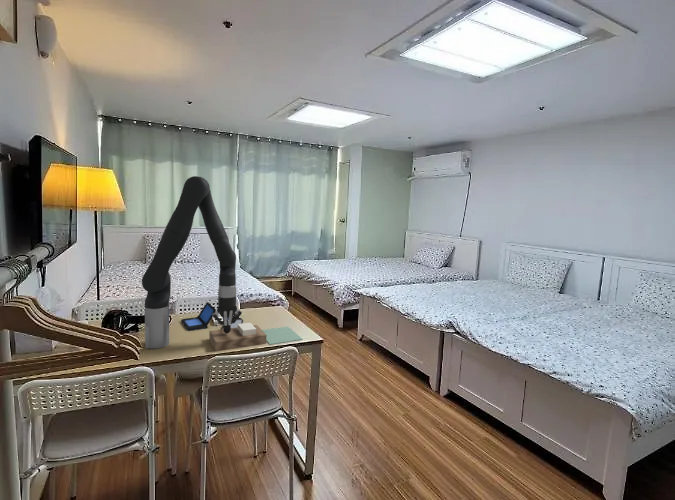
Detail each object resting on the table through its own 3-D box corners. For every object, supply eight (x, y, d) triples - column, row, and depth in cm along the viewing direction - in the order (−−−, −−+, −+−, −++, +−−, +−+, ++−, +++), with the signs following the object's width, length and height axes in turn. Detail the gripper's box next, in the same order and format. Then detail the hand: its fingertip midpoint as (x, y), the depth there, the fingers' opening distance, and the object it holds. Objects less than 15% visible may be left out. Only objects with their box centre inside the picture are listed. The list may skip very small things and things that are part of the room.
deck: (215, 351, 154) (216, 342, 153) (209, 339, 166) (209, 330, 165) (266, 343, 165) (266, 335, 164) (256, 332, 177) (256, 324, 176)
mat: (269, 344, 164) (269, 344, 164) (257, 331, 179) (257, 330, 179) (302, 339, 172) (302, 338, 172) (288, 327, 187) (288, 326, 187)
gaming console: (226, 321, 192) (226, 316, 192) (244, 321, 194) (244, 316, 193) (221, 335, 173) (221, 330, 173) (241, 334, 175) (241, 329, 174)
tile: (242, 336, 162) (242, 330, 161) (237, 329, 169) (237, 323, 169) (256, 334, 165) (256, 328, 164) (250, 327, 172) (250, 322, 172)
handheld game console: (180, 321, 187) (180, 304, 186) (207, 318, 194) (207, 301, 193) (188, 331, 174) (188, 313, 173) (216, 327, 182) (216, 309, 181)
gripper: (213, 298, 153) (213, 338, 156) (244, 295, 160) (244, 333, 162) (209, 294, 160) (209, 332, 162) (240, 291, 166) (239, 328, 169)
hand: (226, 332), depth 162 cm, fingers closed
